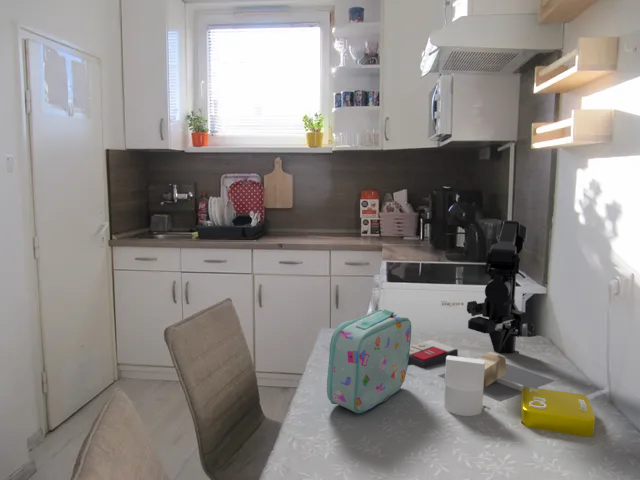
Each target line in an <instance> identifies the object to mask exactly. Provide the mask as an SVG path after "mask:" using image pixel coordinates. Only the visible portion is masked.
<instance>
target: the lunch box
mask: <svg viewBox="0 0 640 480" xmlns="http://www.w3.org/2000/svg"><path fill="white" fill-rule="evenodd" d="M411 339H412V321H411V320H410V318H408V317H406V316H403V315H401V314H400V315H399V314H397V313H394V311H391V310H388V309H377V310H375V311H372V312H370V313H368V314H366V315H362V316H360V317H357V318H355V319H352V320H347V321H343V322H342V323H340V324H339V325H337V327H336V329H335V330H334V332H333V334H332V336H331V338H330V342H329V343H330V344H329V354H328V356H329V357H328V366H327V367H328V368H327V369H328V370H327V379H326V395H327V398H328V400H329V402H330V403H331V404H332V405H338V406H340V407H343V408H346V409H347V410H350V411H351V412H354V413H355V414H363V413H366V412H367V411H369V410H370V409H372V408H374V407H376V405H378V404H380V403H382V402H386V401H388V399H389V398H390V397H392V396H393V395H394V394H396V393H397V392H399V391H400V390H401V387H402V386H403V384H404V383H405V379H406V374H407V371H408V367H409V365H408V360H409V352H410V347H411V342H412V341H411Z"/></svg>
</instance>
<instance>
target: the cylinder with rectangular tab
mask: <svg viewBox="0 0 640 480" xmlns="http://www.w3.org/2000/svg"><path fill="white" fill-rule="evenodd" d="M484 371H485V360H481V359H478V358H474V357H473V358H472V357H465V356H464V357H463V356H458V357H457V356H449V355H448V356H447V357H446V362H445V372H444V374H445V379H444V392H443V393H444V394H443V408H444V409H445V410H446V411H448V412H449V413H451V414H454V415H458V416H462V417H463V416H465V417H470V416H472V417H473V416H478V415H479V414H481V413H482V411H483V400H484V399H483V398H484V395H483V387H484Z"/></svg>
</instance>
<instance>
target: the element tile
mask: <svg viewBox="0 0 640 480" xmlns="http://www.w3.org/2000/svg"><path fill="white" fill-rule="evenodd" d="M520 410H521V411H520V412H521V413H520V414H521V415H520V416H521V424H522V425H523V426H524V427H527V428H530V429H535V430H542V431H547V432H548V431H549V432H555V433H560V434H565V435H566V434H567V435H572V436H573V435H574V436H580V437H585V438H586V437H587V438H588V437H593V436H594V435H595V427H596V426H595V423H596V417H595V413H594V410H593V408H592V405H591V401H590V399H589V397H588V396H587V395H585V394H582V393H575V392H567V391H561V390H560V391H559V390H553V389H545V388H540V387H537V388H532V387H524V388H523V389H522V390H521V394H520Z"/></svg>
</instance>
